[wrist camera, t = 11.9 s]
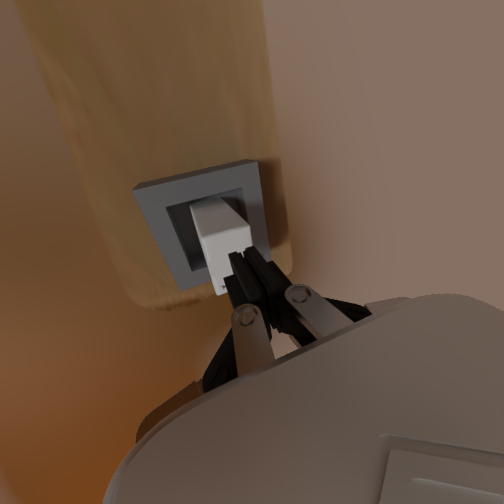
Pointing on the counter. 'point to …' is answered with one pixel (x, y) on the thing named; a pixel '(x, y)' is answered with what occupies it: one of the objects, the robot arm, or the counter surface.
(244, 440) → the robot arm
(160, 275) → the counter surface
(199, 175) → the port block
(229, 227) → the skincare box
